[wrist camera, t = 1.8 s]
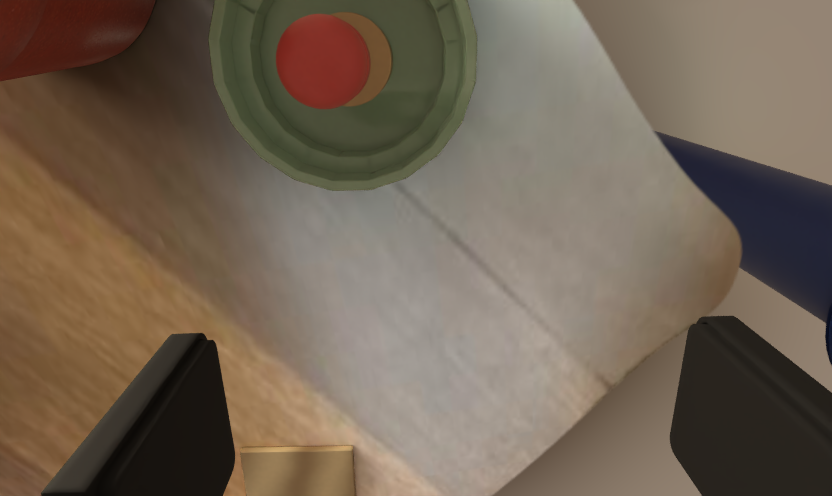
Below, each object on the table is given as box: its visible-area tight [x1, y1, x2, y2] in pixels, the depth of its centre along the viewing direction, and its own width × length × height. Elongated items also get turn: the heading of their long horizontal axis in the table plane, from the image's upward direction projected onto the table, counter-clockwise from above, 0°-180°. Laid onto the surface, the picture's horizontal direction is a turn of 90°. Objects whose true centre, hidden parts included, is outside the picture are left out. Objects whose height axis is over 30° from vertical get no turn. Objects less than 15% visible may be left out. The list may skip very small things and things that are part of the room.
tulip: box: [276, 12, 393, 109], centre depth 26 cm, size 5×5×14 cm
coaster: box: [240, 446, 356, 496], centre depth 44 cm, size 9×9×1 cm
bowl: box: [208, 0, 477, 191], centre depth 31 cm, size 14×14×5 cm
